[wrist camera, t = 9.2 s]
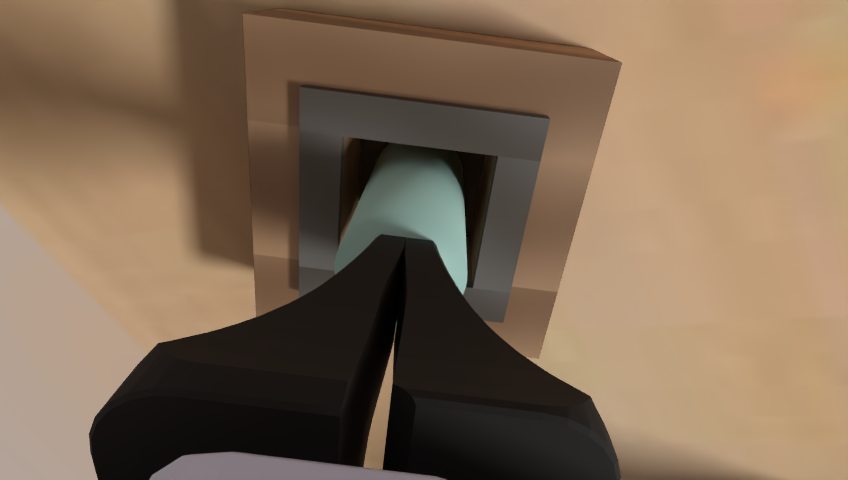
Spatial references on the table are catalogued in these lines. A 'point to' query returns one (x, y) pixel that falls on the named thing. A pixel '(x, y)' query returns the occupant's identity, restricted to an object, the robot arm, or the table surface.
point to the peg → (412, 206)
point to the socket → (428, 127)
